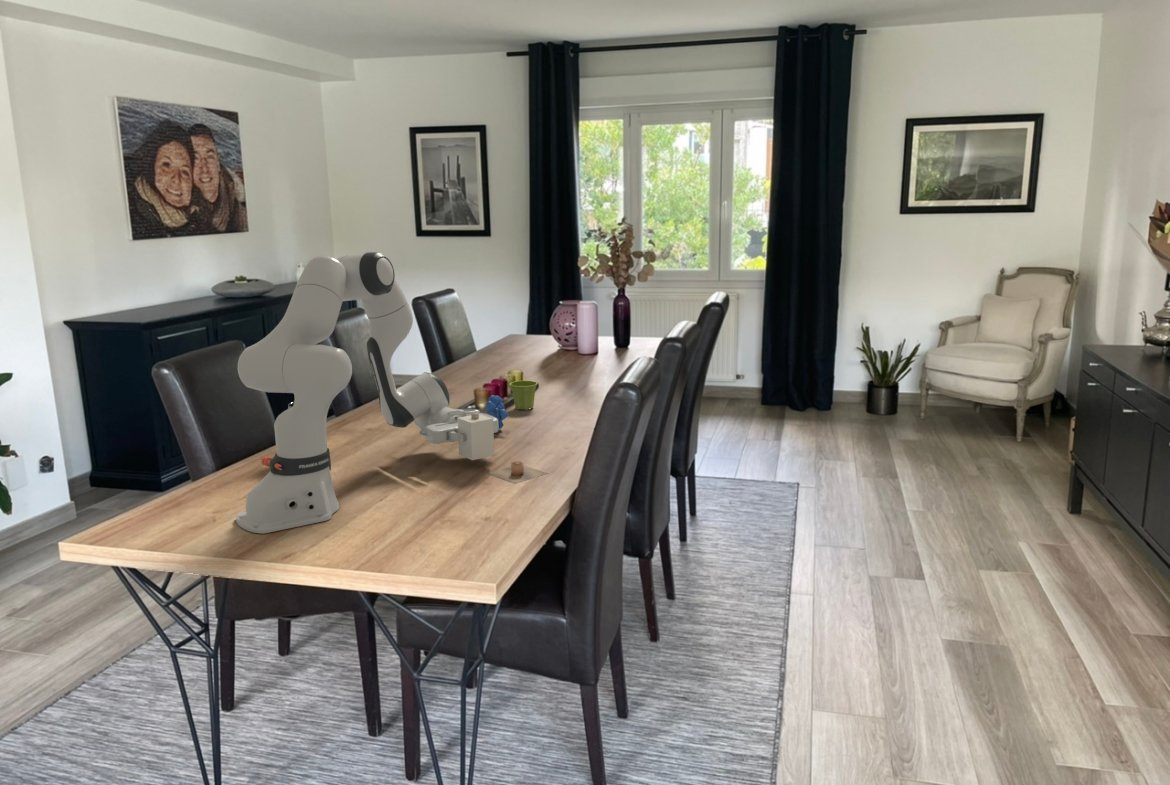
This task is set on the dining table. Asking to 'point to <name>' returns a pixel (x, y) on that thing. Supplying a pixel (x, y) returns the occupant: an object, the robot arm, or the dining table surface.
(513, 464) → the brown short cylinder
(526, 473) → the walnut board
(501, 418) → the blue bumpy lump
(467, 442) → the cover
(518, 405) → the plant pot
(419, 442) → the dining table surface
